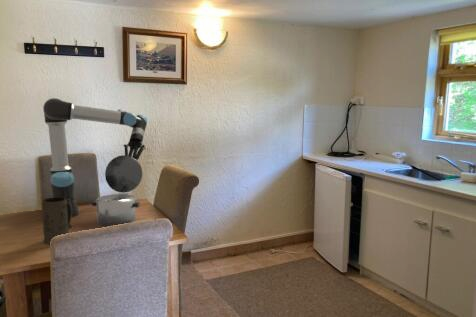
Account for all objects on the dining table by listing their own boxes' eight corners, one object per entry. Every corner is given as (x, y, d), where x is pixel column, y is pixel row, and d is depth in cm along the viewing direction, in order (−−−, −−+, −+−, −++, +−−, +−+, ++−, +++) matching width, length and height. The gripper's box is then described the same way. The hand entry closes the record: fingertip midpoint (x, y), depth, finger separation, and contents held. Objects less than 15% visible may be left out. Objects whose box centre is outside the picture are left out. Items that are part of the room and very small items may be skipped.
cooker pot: (85, 225, 201) (84, 202, 199) (102, 213, 222) (102, 192, 220) (133, 226, 200) (132, 204, 198) (145, 214, 221) (145, 194, 219)
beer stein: (58, 245, 173) (58, 201, 171) (37, 243, 175) (36, 200, 173) (79, 236, 188) (78, 195, 186) (59, 234, 190) (59, 194, 188)
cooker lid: (106, 154, 220) (108, 155, 223) (104, 192, 218) (106, 191, 222) (142, 155, 219) (144, 156, 222) (140, 193, 217) (142, 192, 221)
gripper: (148, 140, 240) (141, 172, 226) (128, 140, 241) (119, 172, 227) (146, 133, 234) (138, 165, 220) (124, 132, 234) (115, 164, 221)
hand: (128, 168), depth 224 cm, fingers closed
